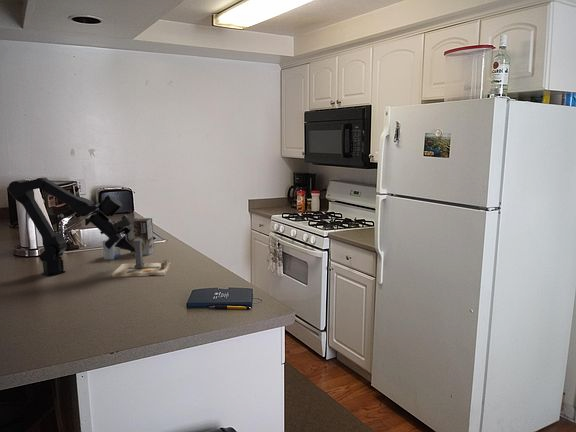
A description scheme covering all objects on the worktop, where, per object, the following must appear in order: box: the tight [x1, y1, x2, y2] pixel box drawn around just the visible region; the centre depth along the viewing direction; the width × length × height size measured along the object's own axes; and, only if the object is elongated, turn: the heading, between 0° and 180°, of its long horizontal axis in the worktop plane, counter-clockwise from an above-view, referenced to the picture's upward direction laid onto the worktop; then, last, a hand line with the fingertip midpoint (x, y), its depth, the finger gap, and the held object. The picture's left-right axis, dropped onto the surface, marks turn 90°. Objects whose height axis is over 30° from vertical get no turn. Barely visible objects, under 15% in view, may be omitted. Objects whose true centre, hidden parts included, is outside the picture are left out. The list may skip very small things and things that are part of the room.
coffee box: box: [129, 217, 155, 256], centre depth 212 cm, size 9×6×16 cm
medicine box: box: [102, 237, 121, 261], centre depth 205 cm, size 8×4×9 cm, turn 179°
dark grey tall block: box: [133, 239, 145, 268], centre depth 183 cm, size 3×4×11 cm
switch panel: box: [111, 259, 172, 278], centre depth 184 cm, size 20×14×4 cm
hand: (135, 250), depth 183 cm, fingers closed, pressing on dark grey tall block
